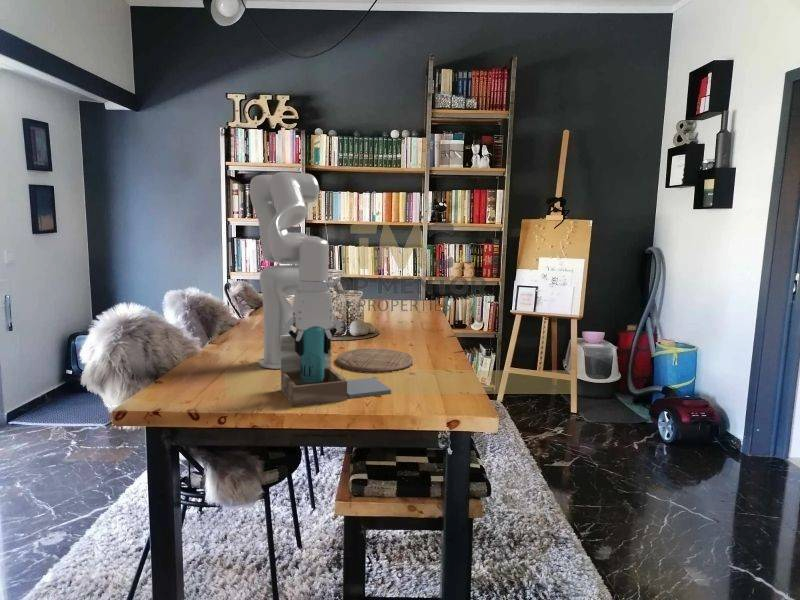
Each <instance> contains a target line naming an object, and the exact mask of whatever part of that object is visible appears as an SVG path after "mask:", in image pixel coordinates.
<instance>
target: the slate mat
mask: <svg viewBox="0 0 800 600" xmlns="http://www.w3.org/2000/svg"><path fill="white" fill-rule="evenodd" d="M346 381H347V399H354V398H355V399H356V398H363V397H371V396H379V395H380V396H381V395H388V393H390V394H392V389H391V388H390V387H388V386H387V385H385V384H384V383H383V382H381V381H380V380H379V379H377V378H376V377H366V378H358V379H357V378H356V379H350V380H348V379H347V380H346Z"/></svg>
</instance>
